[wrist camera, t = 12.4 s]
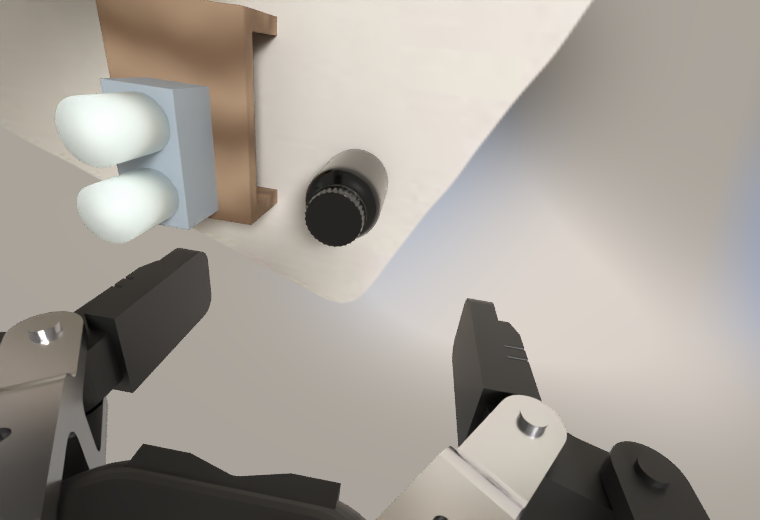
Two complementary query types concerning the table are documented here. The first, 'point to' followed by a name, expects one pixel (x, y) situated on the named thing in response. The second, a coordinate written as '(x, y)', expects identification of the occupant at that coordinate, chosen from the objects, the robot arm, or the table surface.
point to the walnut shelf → (200, 78)
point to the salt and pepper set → (142, 155)
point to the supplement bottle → (346, 197)
